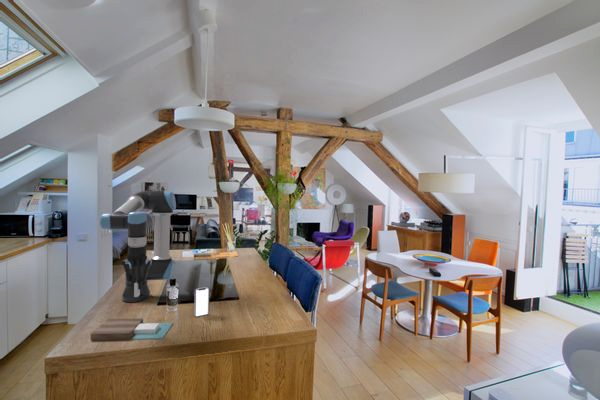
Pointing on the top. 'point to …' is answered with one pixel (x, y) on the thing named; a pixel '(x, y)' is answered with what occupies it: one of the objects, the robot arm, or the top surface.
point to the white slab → (146, 328)
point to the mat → (158, 334)
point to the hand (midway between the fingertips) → (137, 295)
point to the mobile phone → (201, 302)
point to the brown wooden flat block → (116, 329)
